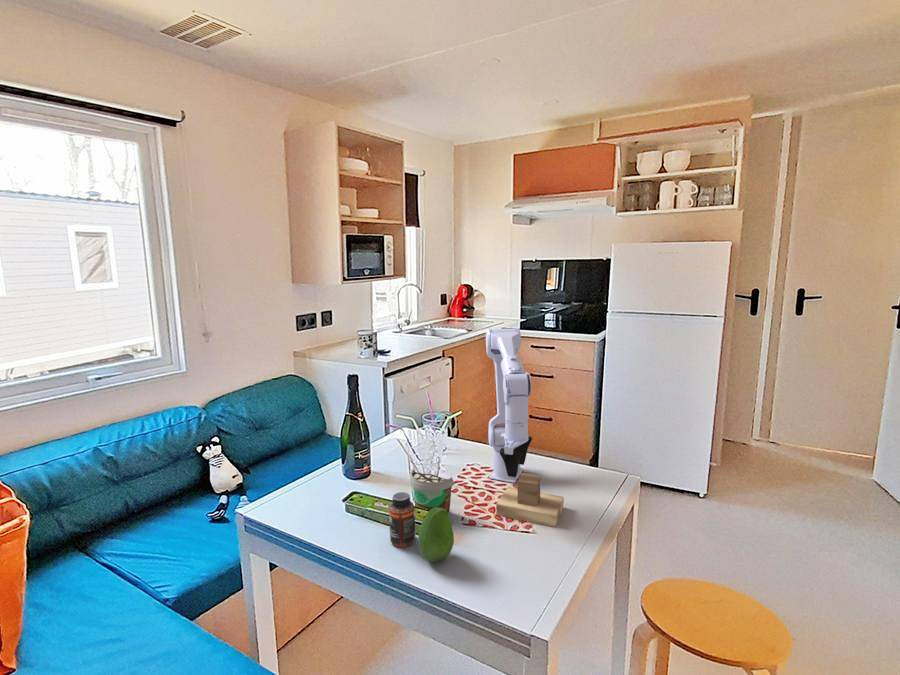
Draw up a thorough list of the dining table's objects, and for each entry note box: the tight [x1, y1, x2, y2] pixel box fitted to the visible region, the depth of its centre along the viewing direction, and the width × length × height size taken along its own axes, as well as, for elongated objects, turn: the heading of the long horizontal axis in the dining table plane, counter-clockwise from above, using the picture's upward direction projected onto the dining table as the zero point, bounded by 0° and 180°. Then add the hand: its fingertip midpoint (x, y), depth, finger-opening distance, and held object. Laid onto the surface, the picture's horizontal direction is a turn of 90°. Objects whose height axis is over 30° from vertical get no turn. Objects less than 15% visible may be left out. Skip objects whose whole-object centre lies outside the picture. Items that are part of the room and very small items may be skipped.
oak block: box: [495, 486, 565, 528], centre depth 127 cm, size 10×15×3 cm, turn 66°
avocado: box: [418, 508, 455, 563], centre depth 107 cm, size 8×8×12 cm
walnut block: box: [517, 472, 542, 506], centre depth 126 cm, size 5×5×6 cm
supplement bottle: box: [388, 491, 417, 548], centre depth 114 cm, size 6×6×11 cm
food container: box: [408, 468, 455, 514], centre depth 126 cm, size 12×6×10 cm, turn 62°
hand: (516, 469), depth 128 cm, fingers open, 7 cm apart
